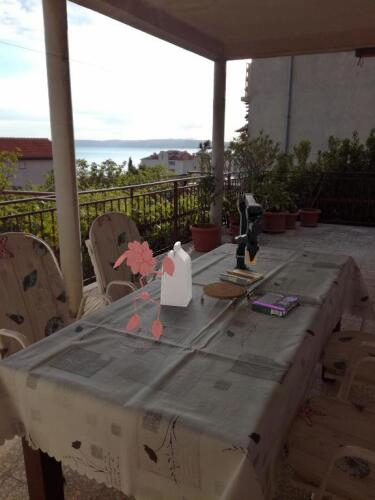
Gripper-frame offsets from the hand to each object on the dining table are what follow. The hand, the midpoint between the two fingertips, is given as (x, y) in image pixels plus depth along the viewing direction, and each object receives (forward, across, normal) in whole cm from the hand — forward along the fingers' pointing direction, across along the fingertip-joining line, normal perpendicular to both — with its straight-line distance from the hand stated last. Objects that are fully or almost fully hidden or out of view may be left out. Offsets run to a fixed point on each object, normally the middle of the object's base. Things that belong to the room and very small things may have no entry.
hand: (250, 260), depth 199 cm
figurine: (+11, +70, -42) cm, 82 cm away
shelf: (+11, -6, -4) cm, 13 cm away
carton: (+2, 0, 0) cm, 2 cm away
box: (+12, +32, +9) cm, 35 cm away
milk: (+11, +32, -34) cm, 48 cm away
